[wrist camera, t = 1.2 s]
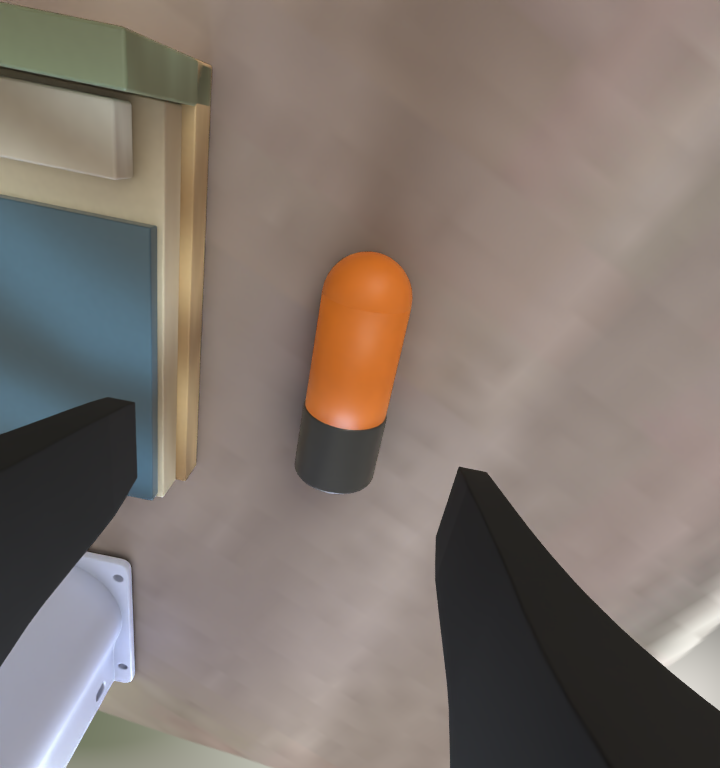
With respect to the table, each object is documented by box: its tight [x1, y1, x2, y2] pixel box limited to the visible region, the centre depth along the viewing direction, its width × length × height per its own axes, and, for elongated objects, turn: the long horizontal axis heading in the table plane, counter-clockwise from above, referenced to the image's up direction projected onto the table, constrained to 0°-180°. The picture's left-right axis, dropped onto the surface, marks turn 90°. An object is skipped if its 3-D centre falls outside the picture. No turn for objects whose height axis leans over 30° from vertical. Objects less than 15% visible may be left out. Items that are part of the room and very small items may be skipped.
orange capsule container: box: [295, 252, 412, 494], centre depth 17 cm, size 9×3×3 cm, turn 170°
